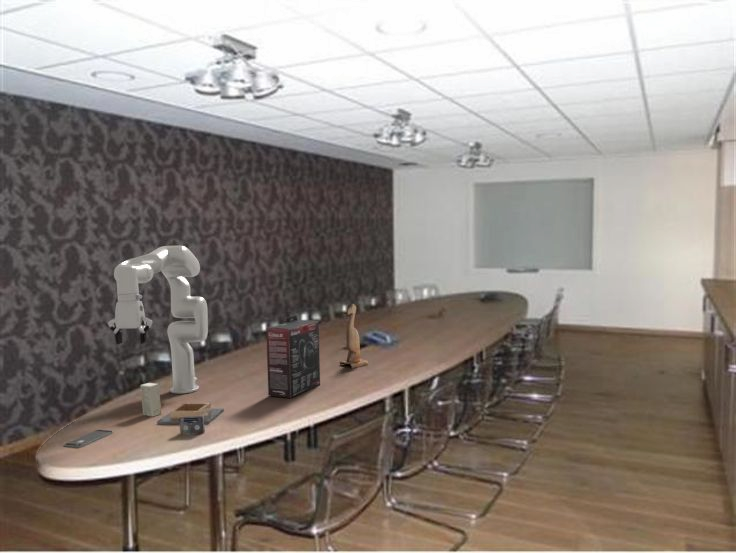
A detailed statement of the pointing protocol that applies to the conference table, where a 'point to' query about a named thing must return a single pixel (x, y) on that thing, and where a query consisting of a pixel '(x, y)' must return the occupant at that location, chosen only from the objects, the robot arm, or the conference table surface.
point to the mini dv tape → (192, 425)
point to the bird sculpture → (353, 342)
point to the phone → (88, 438)
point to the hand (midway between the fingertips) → (131, 343)
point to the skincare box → (150, 399)
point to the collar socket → (191, 413)
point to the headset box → (293, 357)
